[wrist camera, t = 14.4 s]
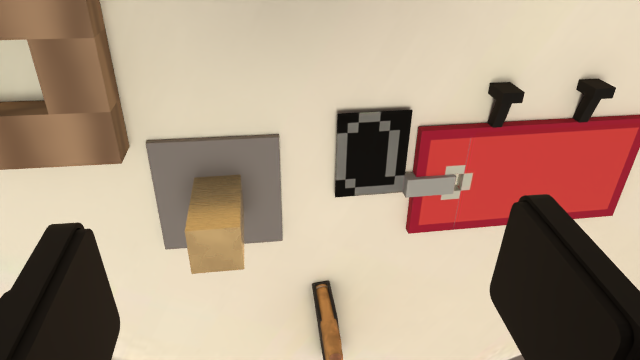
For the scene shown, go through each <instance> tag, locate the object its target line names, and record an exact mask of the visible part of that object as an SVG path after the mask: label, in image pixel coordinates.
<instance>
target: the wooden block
mask: <svg viewBox="0 0 640 360" xmlns="http://www.w3.org/2000/svg"><path fill="white" fill-rule="evenodd" d="M185 236H186V242H187V248H188V254H189V260H190V266H191V272H192V274H195V273H206V272H218V271H229V270H241V269H244V206H243V195H242V184H241V175H227V176H211V177H195V178H194V182H193V187H192V193H191V199H190V204H189V210H188V216H187V221H186V227H185Z"/></svg>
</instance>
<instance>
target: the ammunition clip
mask: <svg viewBox="0 0 640 360" xmlns="http://www.w3.org/2000/svg"><path fill="white" fill-rule="evenodd" d="M312 288H313V294H314V301H315V308H316V315H317V321H318V328H319V335H320V342H321V348H322V354H323V360H343V354H342V349H341V339H340V334H339V327H338V318H337V313H336V309H335V304H334V300H333V296H332V291H331V287H330V282H329V281H325V282H320V283H314V284H312Z"/></svg>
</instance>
